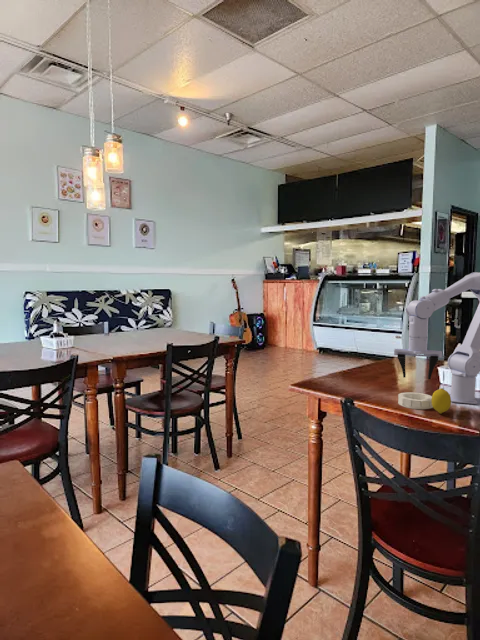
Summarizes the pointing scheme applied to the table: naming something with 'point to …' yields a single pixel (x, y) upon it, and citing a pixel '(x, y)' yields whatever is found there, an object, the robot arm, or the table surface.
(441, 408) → the lemon
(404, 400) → the ring dish
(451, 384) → the robot arm
